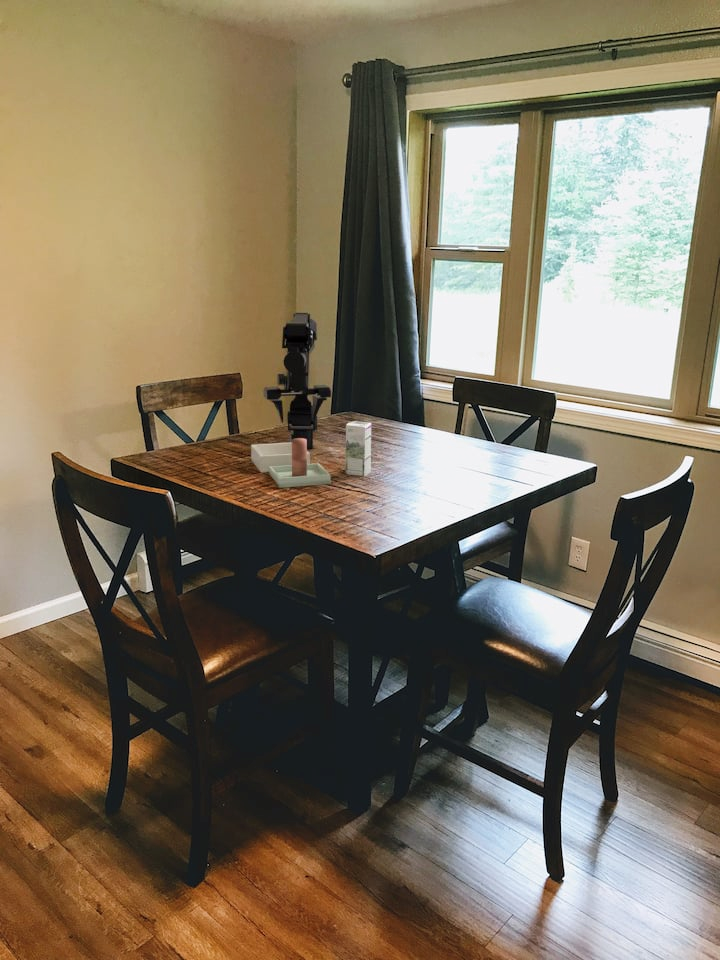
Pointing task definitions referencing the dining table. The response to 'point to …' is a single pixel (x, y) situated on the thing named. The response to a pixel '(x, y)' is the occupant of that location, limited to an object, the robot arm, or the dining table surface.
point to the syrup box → (358, 448)
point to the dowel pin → (299, 457)
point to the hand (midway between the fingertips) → (297, 421)
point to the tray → (285, 479)
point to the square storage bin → (272, 455)
